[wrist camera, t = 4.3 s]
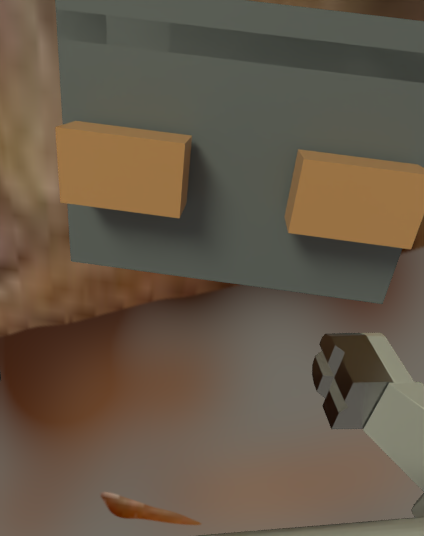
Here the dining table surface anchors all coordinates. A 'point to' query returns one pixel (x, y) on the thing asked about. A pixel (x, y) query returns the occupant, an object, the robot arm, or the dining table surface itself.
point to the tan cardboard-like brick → (123, 168)
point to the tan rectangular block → (355, 199)
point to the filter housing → (242, 129)
